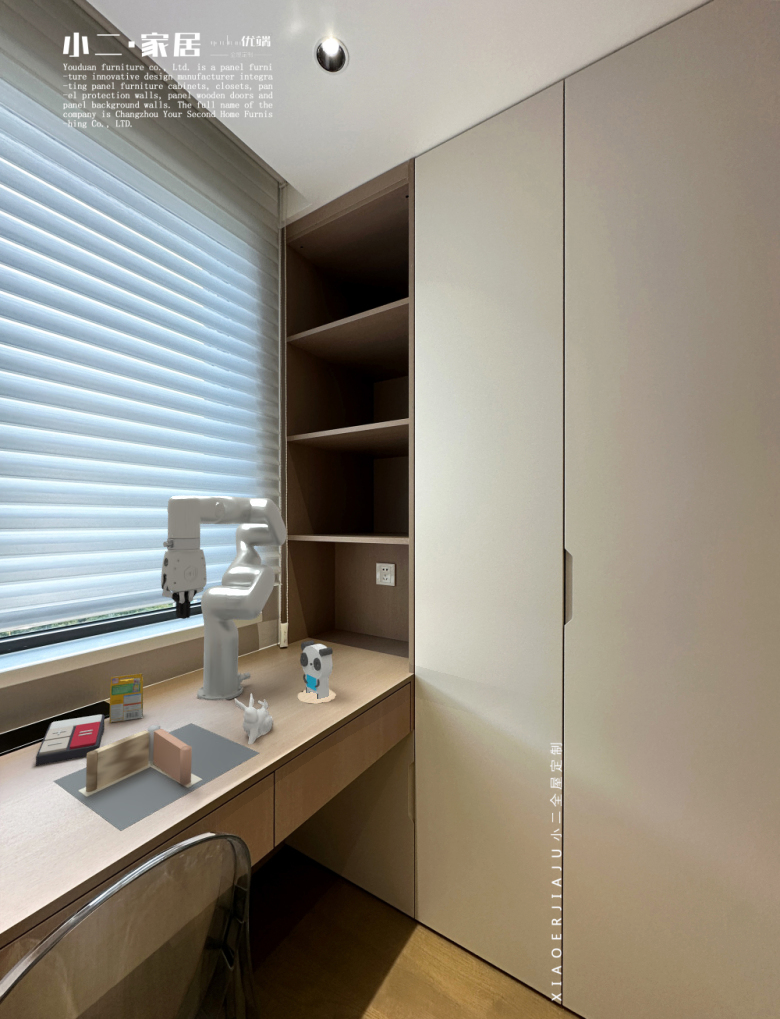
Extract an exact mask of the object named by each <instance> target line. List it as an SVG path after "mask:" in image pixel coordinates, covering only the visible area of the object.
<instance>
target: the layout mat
mask: <svg viewBox="0 0 780 1019" xmlns="http://www.w3.org/2000/svg"><path fill="white" fill-rule="evenodd" d="M168 733H169V734H171V735H173V736H174V737H176V738H177V739H179V740H180V741H182V742H184V743H185V744H187V745H188V746H191V747H192V762H191V782H190V783H189V784H187V785H181V784H180V782H178V781H177V780H176V779H174V778H173V777H172V776H170V775H169V774H168V773H166V772H165V771H164V770H162V769H161V768H160V767H158V766H157V765H156V764H154V763H153V762H149V761H148V765H147V766H145V767H143V768H141V769H139V770H137V771H135V772H132V773H130V774H128V775H126V776H124V777H122V778H120V779H117V780H115V781H113V782H111V783H109V784H107V785H104V786H102V787H100V788H98V789H96V790H94V791H92V792H86V767H84V768H81V769H79V770H77V771H74V772H72V773H70V774H67V775H65V776H62V777H60V778H57V779H55V780H53V782H54V784H56V785H58V786H59V787H60V788H62V789H63V790H64V791H66V792H67V793H68V794H70V795H71V796H73V797H74V798H75V799H77V801H79V802H81V803H82V804H84V806H86V807H87V808H89V809H91V810H92V811H93V812H94V813H96V814H97V815H99V816H100V817H101V818H102V819H104V820H105V821H106V822H108V823H109V824H110V825H112V826H113V827H115V829H117V830H118V831H120V832H122V831H124V830H125V829H127V828H129V827H131V826H132V825H134V824H136V823H138V822H140V821H141V820H143V819H145V818H147V817H149V816H151V815H152V814H154V813H155V812H157V811H160V810H161V809H163V808H165V807H166V806H168V805H170V804H172V803H173V802H175V801H177V800H179V799H180V798H183V797H184V796H186V795H188V794H190V793H191V792H192V793H193V791H195V790H197V789H199V788H201V787H202V786H203V785H206V784H207V783H209V782H211V781H213V780H215V779H216V778H218V777H220V776H222V775H223V774H225V773H227V772H229V771H231V770H232V769H234V768H236V767H238V766H239V765H241V764H243V763H245V762H247V761H248V760H251V759H252V758H254V757H256V756H257V755H260V752H259V751H258V750H257V751H256V750H254V749H252V748H250V747H249V746H248V747H247V746H245V745H243V744H241V743H238V742H235V741H234V740H231V739H229V738H227V737H224V736H222V735H220V734H218V733H215V732H213V731H211V730H209V729H206V728H204V727H202V726H200V725H197V724H194V723H193V722H192V723H191V722H190V723H188V724H186V725H183V726H181V727H179V728H177V729H174V730H171V731H169V732H168Z"/></svg>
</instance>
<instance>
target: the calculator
mask: <svg viewBox="0 0 780 1019" xmlns="http://www.w3.org/2000/svg"><path fill="white" fill-rule="evenodd" d="M104 731H105V715H104V714H94V715H89V716H82V717H77V718H69V719H63V720H58V721H57V720H56V721H53V722H51V723H49V725H48V728H47V729H46V733H45V735H44V737H43V739H42V741H41V743H40V746H39V749H38V751H37V753H36V755H35V766H36V767H38V766H39V767H40V766H45V765H51V764H55V763H60V762H66V761H70V760H77V759H81V758H87V753H88V752H90V751H94V750H96V749H98V748H101V743H102V738H103V735H104Z"/></svg>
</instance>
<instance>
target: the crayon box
mask: <svg viewBox="0 0 780 1019" xmlns="http://www.w3.org/2000/svg"><path fill="white" fill-rule="evenodd" d="M143 706H144V677H143V673H142V672H141V673H134V674H126V675H125V674H124V675H118V676H117V675H116V676H111V677H110V685H109V723H110V724H112V723H111V722H113V723H117V722H124V721H130V720H137V719H142V718H143V714H144V707H143Z"/></svg>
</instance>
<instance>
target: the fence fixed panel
mask: <svg viewBox="0 0 780 1019" xmlns="http://www.w3.org/2000/svg"><path fill="white" fill-rule="evenodd" d="M148 758H149V732H148V730H145V729H143V730H141V731H139V732H137V733H134V734H131V735H129V736H127V737H124V738H121V739H119V740H116V741H114V742H111V743H110V744H109V743H108V744H107V745H106V744H105V745H104V746H100V747H99V748H98V749H96V750H94V751H90V752H88V753H87V757H86V761H85V762H86V763H85V764H86V767H85V768H86V792H92V791H94V790H96V789H98V788H100V787H102V786H104V785H107V784H109V783H111V782H113V781H115V780H117V779H120V778H122V777H124V776H126V775H128V774H130V773H132V772H135V771H137V770H139V769H141V768H143V767H145V766H147V765H148Z"/></svg>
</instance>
